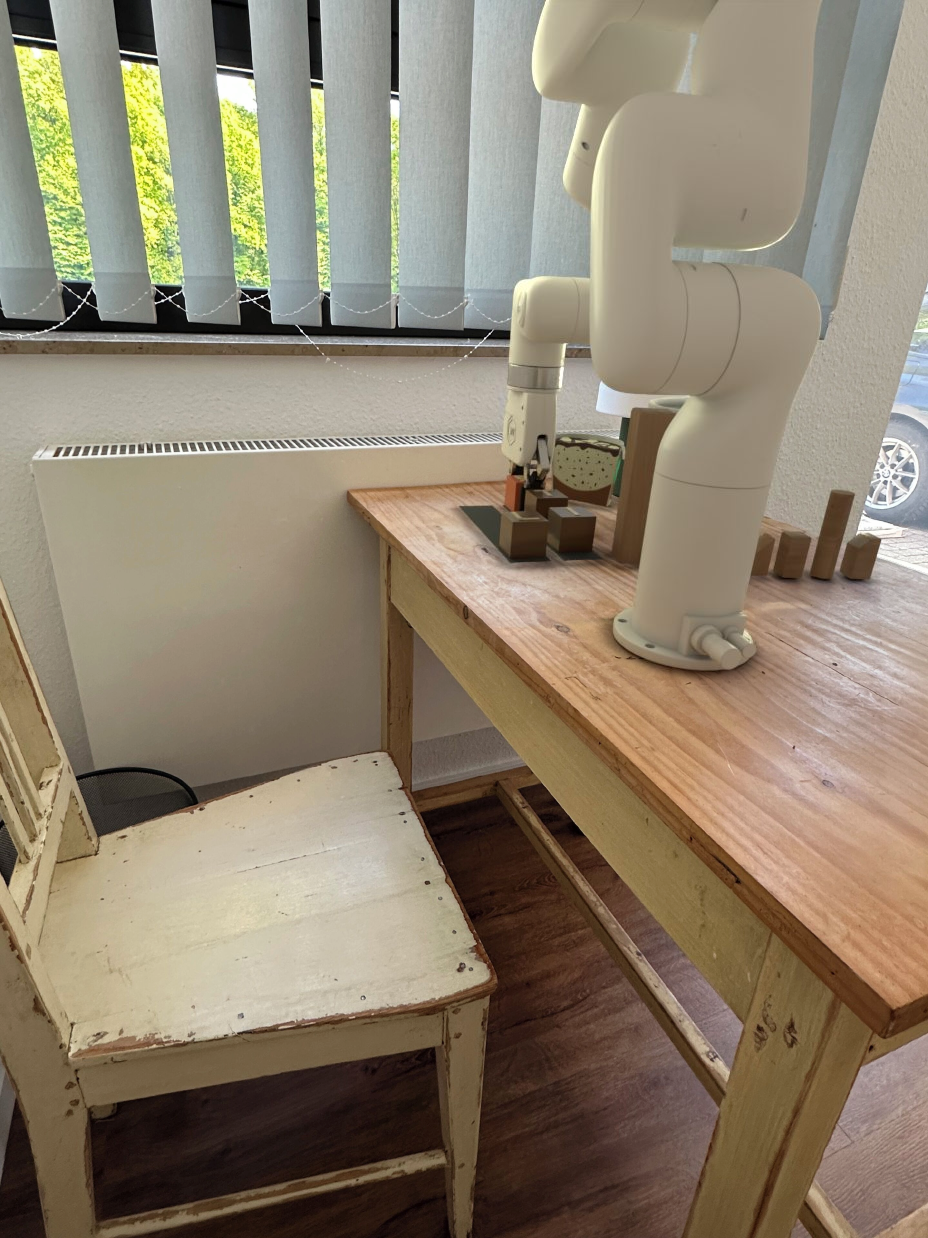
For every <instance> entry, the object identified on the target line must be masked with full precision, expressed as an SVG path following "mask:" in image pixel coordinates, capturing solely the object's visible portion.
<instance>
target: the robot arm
mask: <svg viewBox="0 0 928 1238" xmlns="http://www.w3.org/2000/svg"><path fill="white" fill-rule="evenodd" d="M822 3H823V0H545V2H544V6H543V8H542V11H541V14H540V17H539V21H538V24H537V29H536V32H535V36H534V41H533V47H532V55H531V56H532V57H531V72H532V80H533V84H534V87H535V89H536V91H537V92H538V94H539V95H540V96H542V97H543V98H545V99H547V100H550V101H556V102H563V103H570V104H578V105H580V104H581V107H580V110H579V114H578V118H577V121H576V125H575V129H574V134H573V136H572V139H571V143H570V148H569V152H568V155H567V158H566V162H565V166H564V169H563V174H562V185H563V188H564V189H565V192H566V193H567V195H569V198H571V199H572V200H573V201H574V202H575V203H576V204H578V205H579V206H580V207H582V208H583V210H586V211H587V212H589V213H590V232H589V233H590V235H589V237H590V240H589V242H590V244H589V246H590V247H589V249H590V250H589V261H590V262H589V277H576V276H568V277H567V276H555V275H540V276H535V277H533V278H525V279H521V280H519V281H518V282H517V283H516V284H515V287H514V289H513V296H512V309H511V325H510V337H509V338H510V339H509V351H508V352H509V353H508V368H507V379H506V380H507V381H506V389H507V390H508V393H507V398H506V404H505V409H504V418H503V425H502V436H501V445H500V446H501V447H500V450H501V454H502V455H503V456H504V457H505V458H507V459H508V460H509V468H508V475H524V486H521V495H520V507H519V511H524V507H525V495H526V490H543V489H544V486H545V482H546V479H547V475H548V474H549V473H550V470H551V467H550V465H552V460H553V455H554V448H555V437H556V434H557V419H558V417H557V416H558V394H559V393H562V390H563V389H562V388H563V377H564V376H563V375H564V368H565V367H564V366H565V358H566V347H567V344H568V345H569V344H571V345H589V348H590V357H591V362H592V365H593V368H594V371H595V373H596V375H597V377H598V378H599V380H600V382H602V384H604V385H605V386H606V387H607V388H609V389H611V390H613V391H616V392H619V393H623V394H630V395H647V396H648V395H649V396H688V397H689V398H688V399H687V401H686V402H685V403H684V405H683V406H682V407H681V409H680V410H679V411H678V413H677V414H676V416H675V417H674V418H673V420H672V421H671V423H670V424H669V426H668V428H667V430H666V431H665V433H664V436H663V438H662V440H661V443H660V446H659V449H658V453H657V459H656V465H655V470H654V476H653V484H652V488H651V495H650V501H649V508H648V514H647V521H646V527H645V533H644V540H643V546H642V553H641V559H640V564H638V571H637V578H636V579H637V580H636V584H635V585H636V586H635V591H634V598H633V605H632V606H631V607H628V608H625V609H624V610H622V611H620V612H618V614H616V615H615V617H614V620H613V625H612V634H613V636H614V639H615V640H616V641H617V643H618V644H620V645H621V646H622V647H623V648H624V649H626V650H627V651H629V652H631V653H632V654H633V655H635V656H638V657H640V658H643V659H644V660H647V661H649V662H653V663H656V664H659V665H662V666H667V667H669V668H676V669H682V670H687V671H688V670H689V671H699V672H700V671H702V672H705V671H706V672H708V671H712V672H714V671H715V672H716V671H723V670H725V671H727V670H730V671H731V670H734V669H735V668H737V667H740V665H742V664H745V663H746V662H747V661H749V659H750V658H752V657H753V656H755V654H756V652H757V651H758V648H757V647H758V646H757V645H756V643H754V639H753V637H752V635H750V632H748V631H747V630H746V629H745V628H746V625H747V624H746V623H747V619H748V615H747V614H745V613H744V612H743V610H744V606H745V602H746V598H747V592H748V588H749V584H750V580H751V579H750V578H751V576H752V575H751V571H752V566H753V562H754V557H755V553H756V549H757V544H758V540H759V537H760V535H761V531H762V526H763V522H764V517H765V513H766V508H767V505H768V504H767V503H768V500H769V494H770V490H771V486H772V482H773V479H774V475H775V469H776V466H777V461H778V457H779V452H780V448H781V445H782V441H783V437H784V433H785V431H786V427H787V424H788V420H789V417H790V414H791V412H792V408H793V405H794V403H795V400H796V398H797V396H798V393H799V391H800V389H801V387H802V384H803V382H804V379H805V377H806V375H807V372H808V370H809V368H810V366H811V363H812V361H813V358H814V355H815V353H816V350H817V348H818V344H819V340H820V336H821V331H822V330H821V329H822V311H821V305H820V302H819V300H818V297H817V295H816V293H815V291H814V290H813V288H812V287H811V286H810V285H809V284H808V283H807V282H806V281H805V280H804V279H802V278H801V277H800V276H798V275H796V274H794V273H793V272H790V271H787V270H784V269H780V268H777V267H773V266H768V265H767V266H766V265H756V264H745V263H733V262H720V261H719V262H718V261H711V262H704V261H691V260H676V259H675V260H674V259H673V248H682V249H693V250H706V251H723V252H724V251H726V252H730V251H731V252H747V251H748V252H749V251H757V250H761V249H765V248H768V247H771V246H773V245H774V244H776V243H778V242H779V241H782V239H783V238H785V237H786V236H787V235H788V234H789V232H791V230H792V228H793V227H794V225H795V224H796V222H797V219H798V217H799V215H800V213H801V211H802V206H803V202H804V198H805V193H806V186H807V175H808V163H809V149H810V148H809V147H810V145H809V144H810V129H811V117H812V114H811V113H812V100H813V99H812V97H813V82H814V65H815V63H814V61H815V60H814V59H815V42H816V31H817V25H818V20H819V14H820V10H821V6H822ZM692 34H694V35H697V38H696V40H695V44H694V47H693V52H692V57H691V67H690V93H684V92H677V91H678V89H679V85H680V82H681V80H682V77H683V74H684V72H685V69H686V65H687V62H688V59H689V53H690V49H691V35H692ZM532 461H535V462H536V463H535V464H534V463H533V464H532ZM531 470H533V471H532V472H531ZM530 475H531V476H530Z"/></svg>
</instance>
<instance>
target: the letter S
mask: <svg viewBox="0 0 928 1238" xmlns="http://www.w3.org/2000/svg"><path fill="white" fill-rule="evenodd" d="M530 476H531V474H530ZM505 480H506V481H505V492H504V493H505V494H504V495H505V496H504V505H505V506H506V507H507V508H508V509H509V510H511V511H512V512H513V511H519V507H520V495H521V486H524V475H509V474H508V475H506V479H505ZM546 487H547V482H546V481H545V486H544V489H543V490H546Z"/></svg>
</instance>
